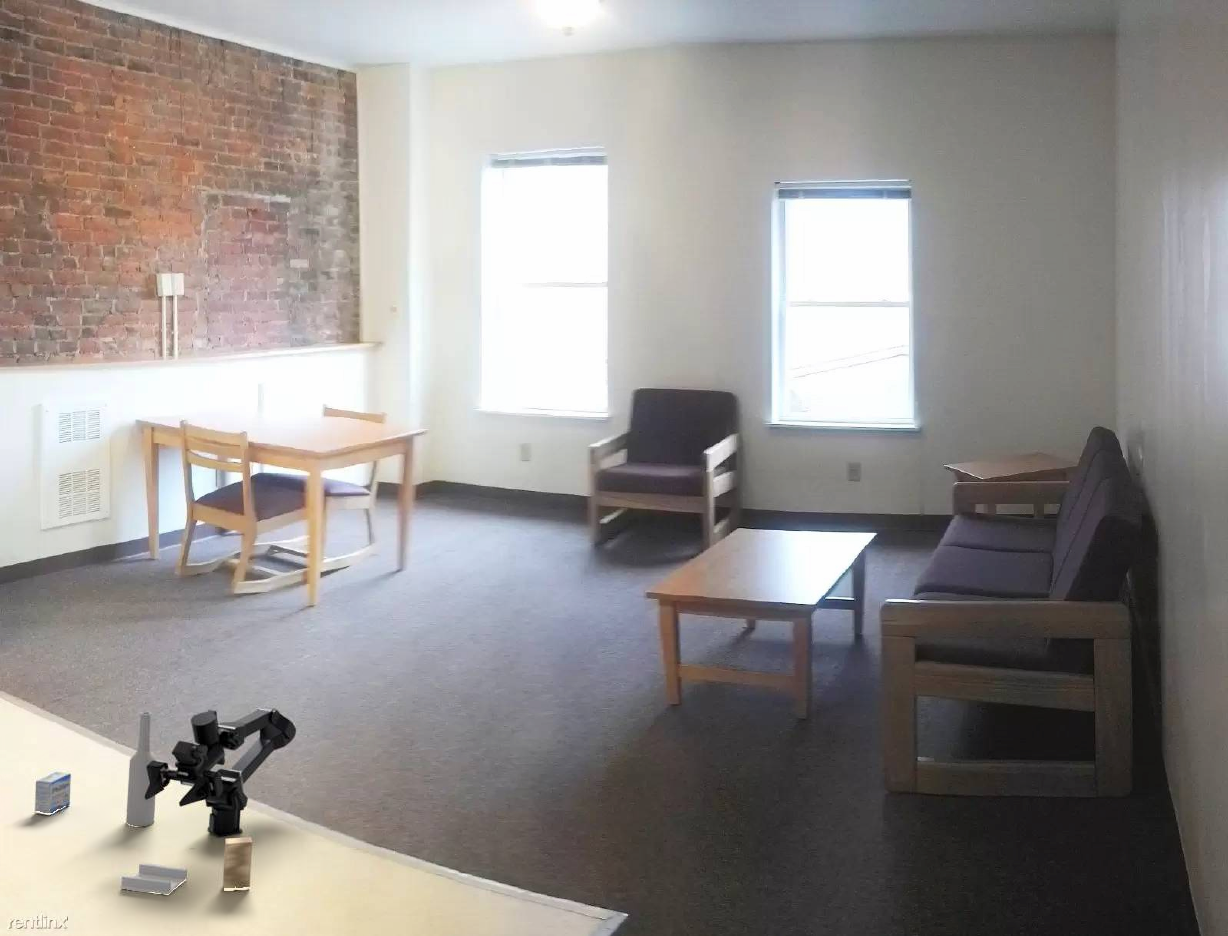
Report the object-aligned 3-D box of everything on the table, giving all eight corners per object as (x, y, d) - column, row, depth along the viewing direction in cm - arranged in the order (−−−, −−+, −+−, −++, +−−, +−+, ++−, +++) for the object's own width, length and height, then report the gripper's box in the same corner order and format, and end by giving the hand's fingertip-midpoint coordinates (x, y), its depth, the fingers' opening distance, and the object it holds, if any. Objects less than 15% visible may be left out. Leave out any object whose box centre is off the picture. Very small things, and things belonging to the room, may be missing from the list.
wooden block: (223, 892, 262) (226, 844, 261) (222, 886, 265) (225, 838, 264) (249, 890, 264) (252, 842, 263) (248, 884, 267) (251, 837, 266)
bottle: (159, 819, 300) (164, 710, 299) (146, 828, 294) (151, 718, 292) (134, 816, 301) (139, 708, 299) (120, 825, 295) (126, 715, 293)
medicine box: (49, 816, 297) (51, 782, 296) (33, 814, 298) (35, 780, 297) (70, 806, 305) (71, 773, 304) (54, 803, 305) (56, 770, 305)
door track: (120, 889, 260) (121, 877, 259) (141, 874, 268) (142, 862, 268) (167, 896, 258) (168, 883, 258) (186, 880, 266) (187, 868, 266)
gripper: (163, 726, 283) (121, 766, 270) (231, 738, 278) (191, 779, 265) (171, 765, 288) (130, 805, 274) (238, 777, 283) (200, 819, 269)
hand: (162, 801), depth 270 cm, fingers open, 9 cm apart
